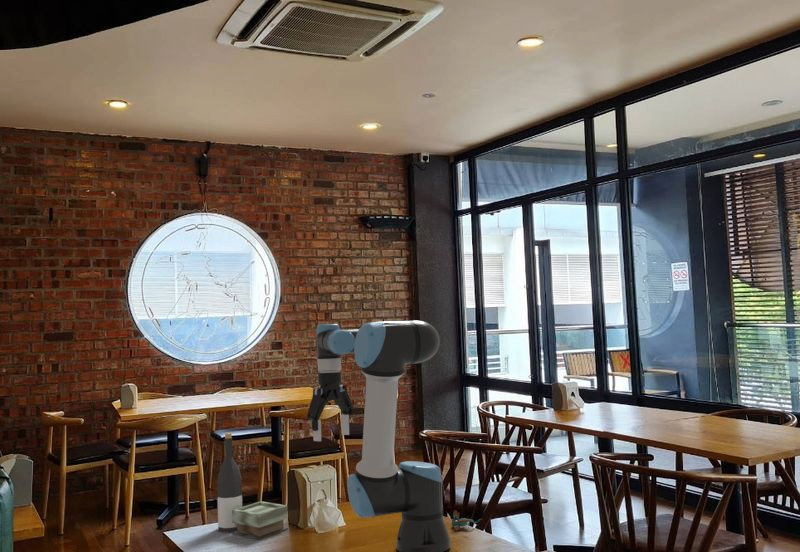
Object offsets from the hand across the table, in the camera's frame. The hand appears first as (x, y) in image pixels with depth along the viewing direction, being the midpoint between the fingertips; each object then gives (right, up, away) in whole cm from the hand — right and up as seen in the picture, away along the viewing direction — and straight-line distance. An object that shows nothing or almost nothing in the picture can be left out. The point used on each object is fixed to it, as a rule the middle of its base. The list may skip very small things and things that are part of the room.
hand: (331, 437), depth 238 cm
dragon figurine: (+46, -23, -13) cm, 53 cm away
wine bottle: (-31, -28, -6) cm, 42 cm away
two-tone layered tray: (-21, -27, -10) cm, 36 cm away
